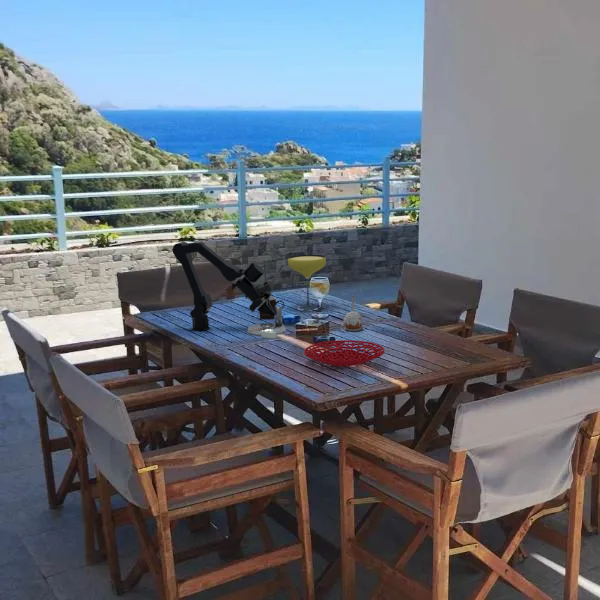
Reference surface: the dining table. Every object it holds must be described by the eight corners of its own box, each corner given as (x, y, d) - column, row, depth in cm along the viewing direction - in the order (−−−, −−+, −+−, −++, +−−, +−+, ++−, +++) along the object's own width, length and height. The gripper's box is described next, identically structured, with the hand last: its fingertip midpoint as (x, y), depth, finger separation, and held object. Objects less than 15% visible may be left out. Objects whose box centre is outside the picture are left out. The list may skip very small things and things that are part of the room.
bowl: (325, 379, 280) (325, 365, 279) (291, 359, 307) (291, 346, 306) (399, 367, 292) (399, 354, 291) (361, 349, 318) (361, 336, 317)
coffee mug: (254, 321, 370) (253, 299, 368) (262, 317, 378) (261, 296, 376) (278, 322, 366) (277, 301, 364) (285, 318, 374) (285, 297, 372)
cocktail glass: (327, 312, 385) (326, 259, 380) (289, 313, 385) (287, 260, 380) (326, 304, 402) (325, 254, 397) (290, 305, 403) (288, 255, 398)
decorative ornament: (365, 330, 347) (364, 296, 344) (348, 332, 345) (347, 297, 342) (358, 326, 354) (357, 293, 351) (341, 328, 352) (340, 294, 349)
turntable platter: (259, 337, 336) (258, 315, 334) (241, 330, 349) (240, 308, 347) (292, 331, 344) (291, 309, 342) (273, 324, 358) (272, 303, 356)
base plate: (233, 336, 344) (232, 326, 343) (261, 326, 361) (260, 317, 360) (272, 341, 333) (272, 331, 332) (299, 330, 350) (298, 321, 349)
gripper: (255, 280, 338) (282, 306, 338) (266, 273, 356) (291, 298, 356) (238, 298, 341) (264, 324, 341) (249, 290, 359) (274, 315, 359)
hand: (274, 315), depth 350 cm, fingers closed
